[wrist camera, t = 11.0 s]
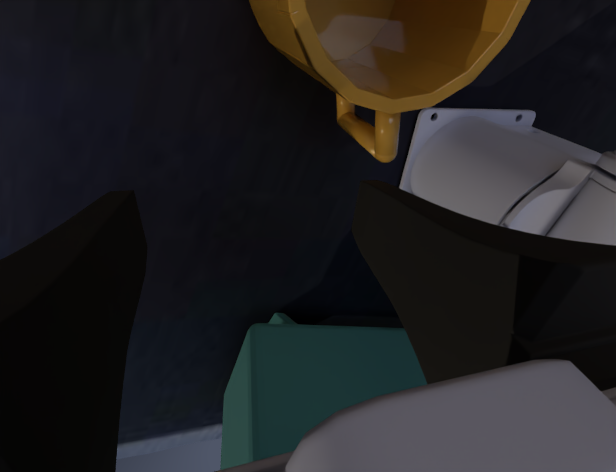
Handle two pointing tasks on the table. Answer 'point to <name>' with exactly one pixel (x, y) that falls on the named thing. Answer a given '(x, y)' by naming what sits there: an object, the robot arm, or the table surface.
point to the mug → (388, 53)
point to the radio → (306, 381)
